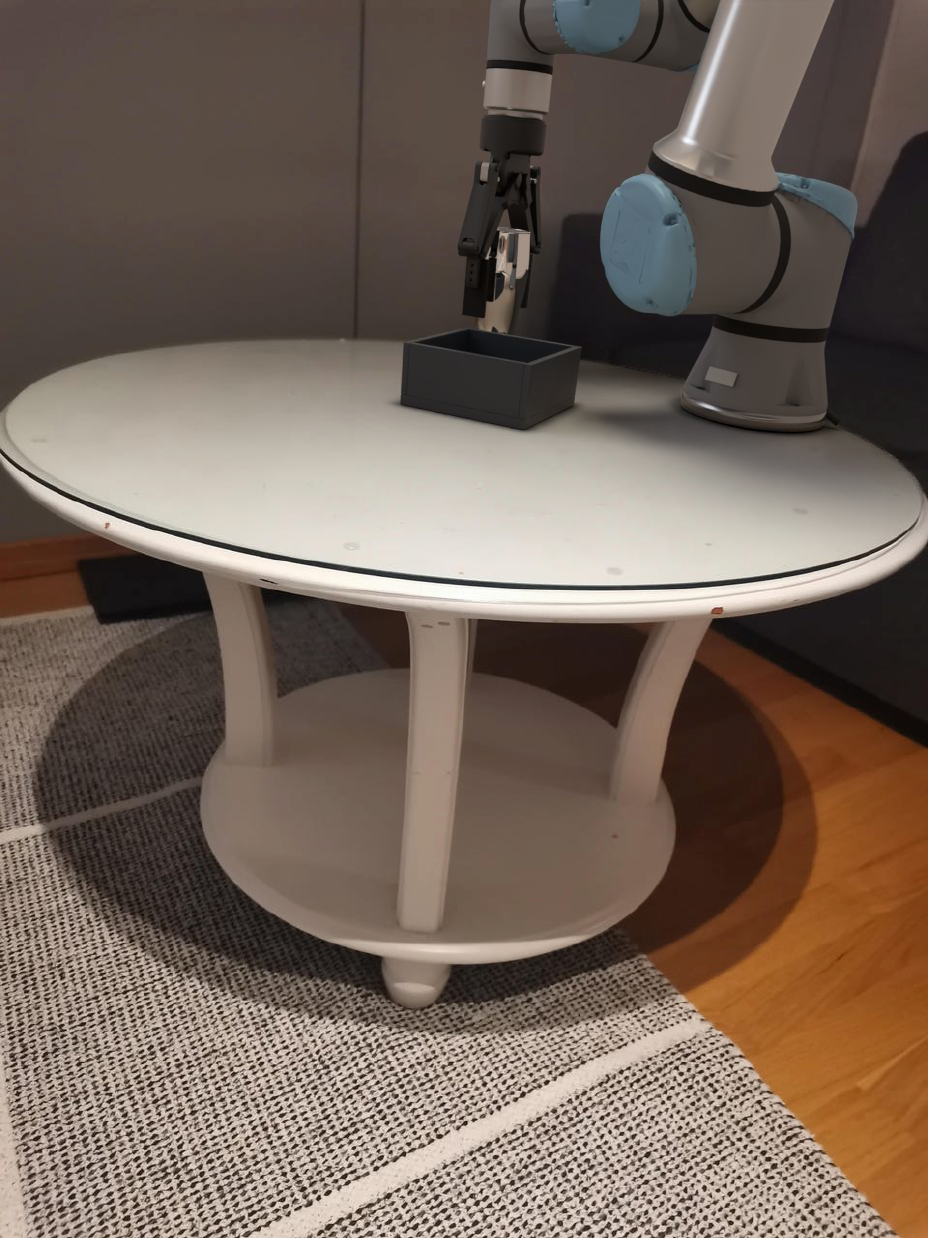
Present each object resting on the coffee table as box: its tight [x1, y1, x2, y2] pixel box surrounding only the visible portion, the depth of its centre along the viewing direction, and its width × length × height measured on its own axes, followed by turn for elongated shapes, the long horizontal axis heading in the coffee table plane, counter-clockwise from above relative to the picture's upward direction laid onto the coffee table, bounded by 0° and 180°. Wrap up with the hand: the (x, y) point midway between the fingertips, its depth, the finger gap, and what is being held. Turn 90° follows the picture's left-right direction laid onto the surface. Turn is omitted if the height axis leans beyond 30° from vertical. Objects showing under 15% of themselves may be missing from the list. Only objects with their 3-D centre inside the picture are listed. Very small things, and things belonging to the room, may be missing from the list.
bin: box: [399, 326, 583, 431], centre depth 95 cm, size 13×13×6 cm
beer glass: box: [473, 226, 531, 336], centre depth 116 cm, size 7×7×15 cm
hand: (495, 311), depth 117 cm, fingers open, 12 cm apart
